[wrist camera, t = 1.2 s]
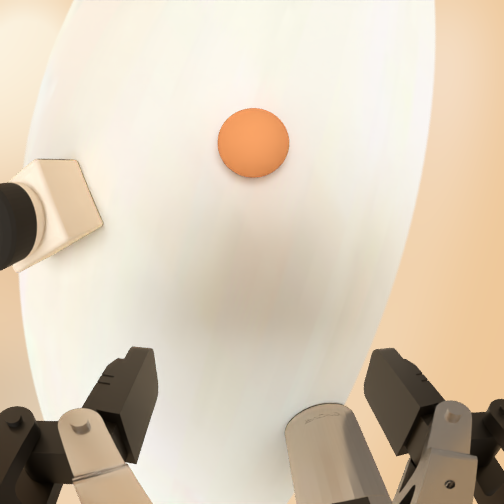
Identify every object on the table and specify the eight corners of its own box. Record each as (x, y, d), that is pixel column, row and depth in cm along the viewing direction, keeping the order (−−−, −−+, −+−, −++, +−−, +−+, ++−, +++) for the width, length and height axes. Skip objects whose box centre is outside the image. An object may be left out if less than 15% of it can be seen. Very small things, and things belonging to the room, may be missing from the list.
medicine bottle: (77, 158, 25) (-6, 157, 13) (105, 224, 27) (31, 258, 15) (29, 193, 25) (-52, 209, 14) (54, 254, 27) (-20, 295, 15)
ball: (288, 171, 26) (300, 171, 21) (225, 182, 26) (222, 184, 21) (277, 111, 25) (287, 96, 19) (215, 121, 25) (208, 108, 20)
